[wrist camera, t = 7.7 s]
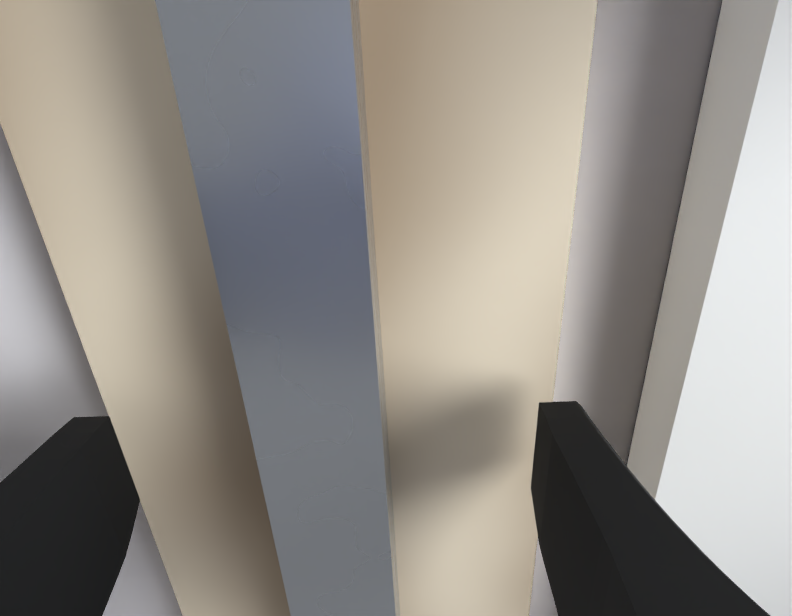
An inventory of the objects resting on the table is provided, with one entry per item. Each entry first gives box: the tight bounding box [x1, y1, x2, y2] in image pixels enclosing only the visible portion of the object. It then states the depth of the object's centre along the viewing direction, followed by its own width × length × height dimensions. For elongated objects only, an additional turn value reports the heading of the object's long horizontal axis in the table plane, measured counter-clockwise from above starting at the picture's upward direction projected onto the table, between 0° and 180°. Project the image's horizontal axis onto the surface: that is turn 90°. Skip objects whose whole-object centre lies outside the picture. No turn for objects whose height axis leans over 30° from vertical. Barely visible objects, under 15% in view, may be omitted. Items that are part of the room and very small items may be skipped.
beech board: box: [0, 0, 598, 616], centre depth 13 cm, size 8×20×1 cm, turn 2°
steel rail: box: [155, 0, 400, 616], centre depth 12 cm, size 2×24×2 cm, turn 2°
